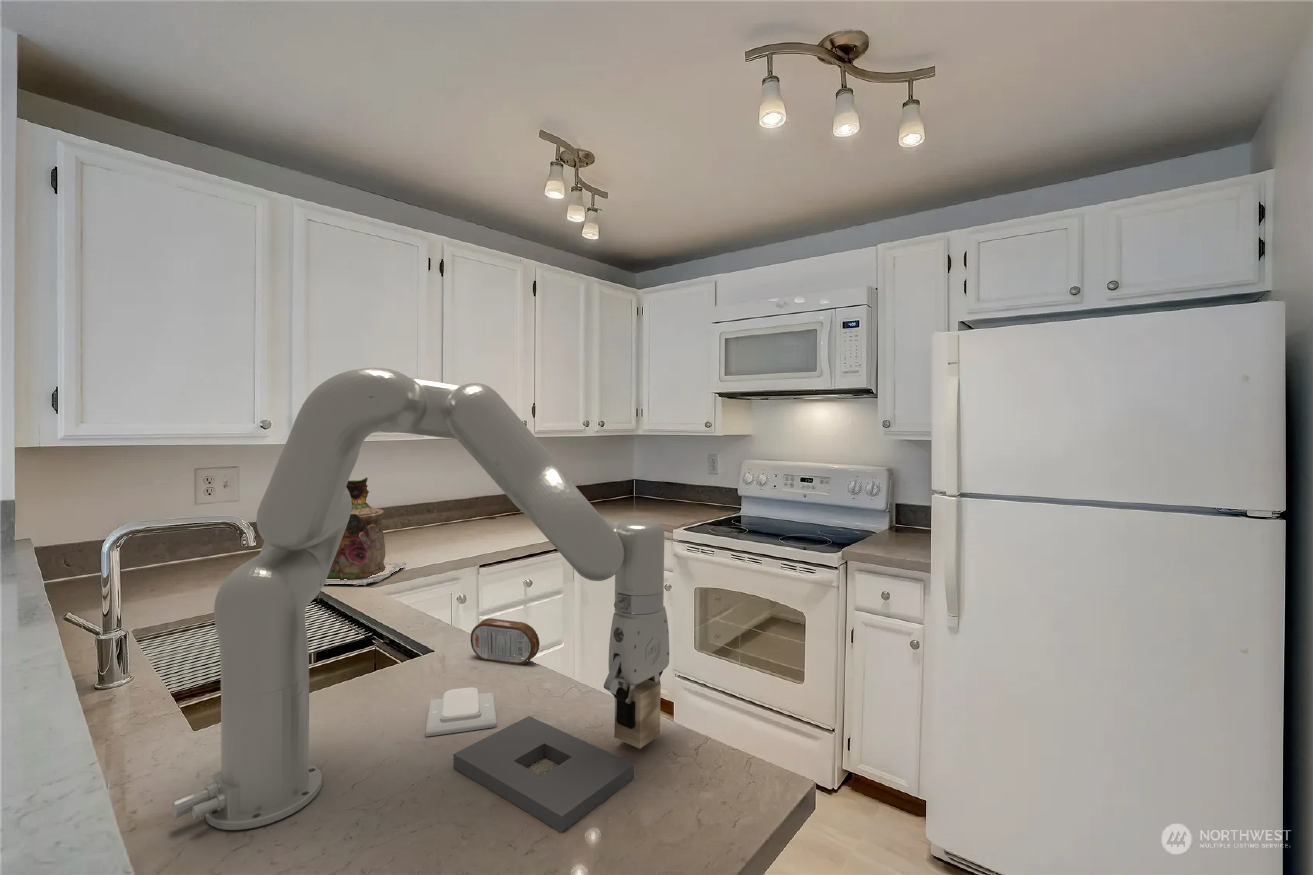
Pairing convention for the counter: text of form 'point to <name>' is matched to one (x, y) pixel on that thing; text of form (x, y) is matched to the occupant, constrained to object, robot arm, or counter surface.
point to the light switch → (461, 712)
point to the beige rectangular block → (642, 715)
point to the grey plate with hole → (557, 792)
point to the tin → (504, 641)
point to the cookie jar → (361, 542)
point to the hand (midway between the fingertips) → (637, 717)
